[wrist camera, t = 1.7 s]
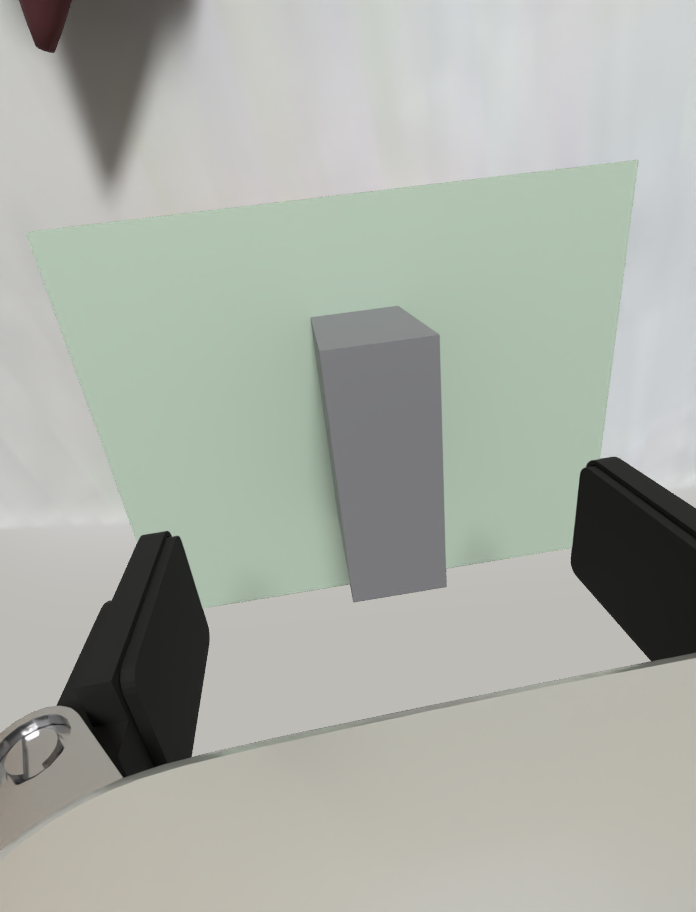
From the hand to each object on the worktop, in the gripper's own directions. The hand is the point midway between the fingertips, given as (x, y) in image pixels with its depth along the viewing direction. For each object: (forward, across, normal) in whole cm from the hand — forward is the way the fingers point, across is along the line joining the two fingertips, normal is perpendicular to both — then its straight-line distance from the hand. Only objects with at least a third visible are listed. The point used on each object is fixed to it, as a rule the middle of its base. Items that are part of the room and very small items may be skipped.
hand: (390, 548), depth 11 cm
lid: (+10, -1, 0) cm, 10 cm away
